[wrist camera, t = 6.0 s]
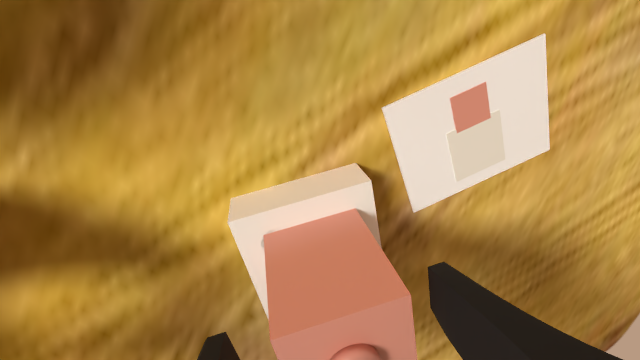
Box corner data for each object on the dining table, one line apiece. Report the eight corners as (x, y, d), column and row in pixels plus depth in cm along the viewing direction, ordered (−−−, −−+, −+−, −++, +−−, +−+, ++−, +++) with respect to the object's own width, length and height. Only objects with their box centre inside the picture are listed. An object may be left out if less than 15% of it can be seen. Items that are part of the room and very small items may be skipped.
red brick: (367, 277, 15) (425, 392, 10) (287, 303, 14) (305, 435, 9) (355, 208, 13) (418, 305, 8) (263, 234, 12) (271, 354, 8)
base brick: (370, 254, 17) (387, 285, 15) (267, 287, 17) (270, 324, 15) (353, 159, 15) (371, 180, 12) (231, 194, 14) (227, 222, 12)
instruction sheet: (548, 149, 16) (550, 150, 16) (412, 211, 16) (414, 213, 16) (543, 33, 14) (546, 33, 13) (381, 107, 13) (382, 108, 13)
